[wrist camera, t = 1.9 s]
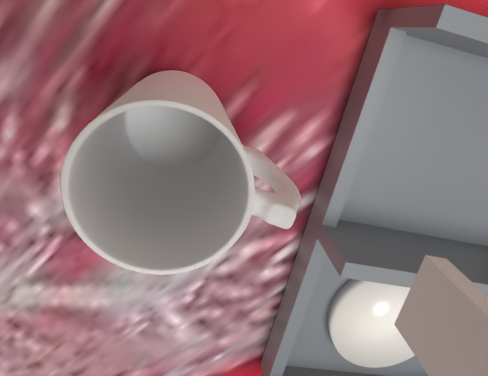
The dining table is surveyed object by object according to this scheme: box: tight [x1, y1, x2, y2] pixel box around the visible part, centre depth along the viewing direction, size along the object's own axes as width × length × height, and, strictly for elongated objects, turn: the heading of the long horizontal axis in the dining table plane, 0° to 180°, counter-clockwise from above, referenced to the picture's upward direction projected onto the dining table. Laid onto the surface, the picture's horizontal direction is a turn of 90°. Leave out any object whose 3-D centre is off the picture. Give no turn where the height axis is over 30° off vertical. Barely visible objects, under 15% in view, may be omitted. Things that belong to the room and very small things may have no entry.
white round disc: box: [327, 279, 415, 368], centre depth 31 cm, size 9×9×1 cm
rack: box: [260, 4, 488, 376], centre depth 27 cm, size 16×28×7 cm, turn 166°
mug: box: [60, 70, 301, 275], centre depth 20 cm, size 10×7×12 cm, turn 69°
